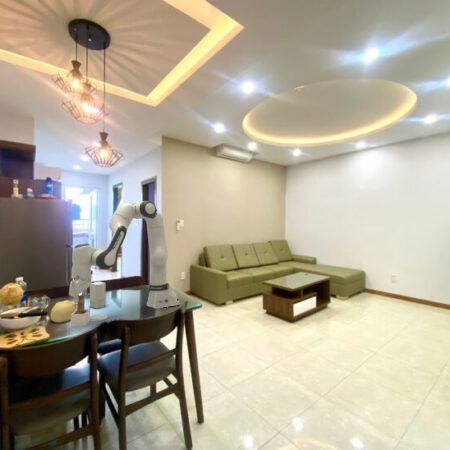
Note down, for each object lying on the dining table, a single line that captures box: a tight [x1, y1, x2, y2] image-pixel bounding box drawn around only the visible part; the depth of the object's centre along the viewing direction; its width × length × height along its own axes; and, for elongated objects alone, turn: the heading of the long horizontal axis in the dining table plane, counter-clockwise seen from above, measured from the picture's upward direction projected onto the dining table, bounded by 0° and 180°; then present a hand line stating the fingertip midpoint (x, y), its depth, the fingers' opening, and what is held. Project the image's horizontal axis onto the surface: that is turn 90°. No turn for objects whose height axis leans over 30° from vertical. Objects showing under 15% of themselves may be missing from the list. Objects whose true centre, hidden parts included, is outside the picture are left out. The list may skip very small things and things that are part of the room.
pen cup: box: [70, 309, 91, 328], centre depth 130 cm, size 7×7×7 cm
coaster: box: [90, 314, 108, 322], centre depth 139 cm, size 9×9×1 cm
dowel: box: [77, 294, 86, 314], centre depth 130 cm, size 3×3×15 cm
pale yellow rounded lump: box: [50, 299, 77, 324], centre depth 135 cm, size 11×12×11 cm
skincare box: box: [89, 281, 107, 310], centre depth 158 cm, size 8×7×16 cm
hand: (80, 299), depth 130 cm, fingers open, 8 cm apart
